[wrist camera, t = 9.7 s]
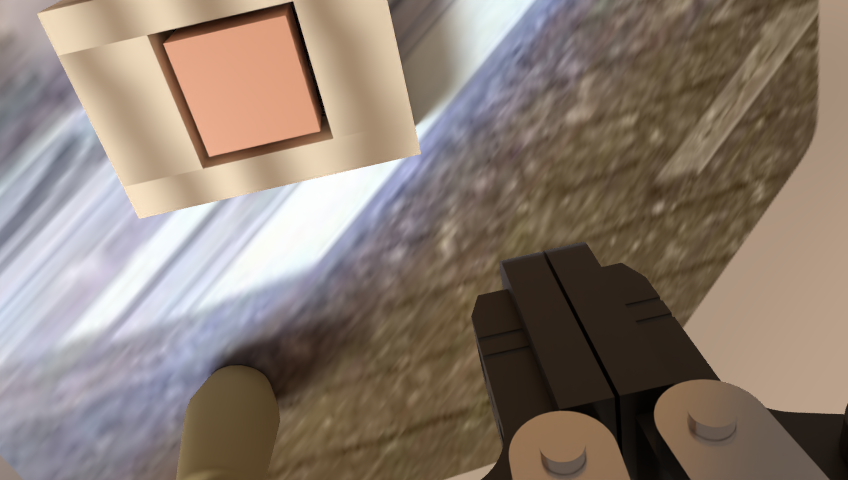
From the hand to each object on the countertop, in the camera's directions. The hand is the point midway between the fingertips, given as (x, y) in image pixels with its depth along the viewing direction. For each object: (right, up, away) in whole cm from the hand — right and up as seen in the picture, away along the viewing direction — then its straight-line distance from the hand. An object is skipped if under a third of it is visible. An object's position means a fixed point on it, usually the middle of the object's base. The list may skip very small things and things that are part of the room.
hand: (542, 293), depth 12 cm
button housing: (-14, +13, +34) cm, 39 cm away
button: (-14, +12, +33) cm, 38 cm away
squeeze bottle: (-19, -13, +49) cm, 54 cm away
